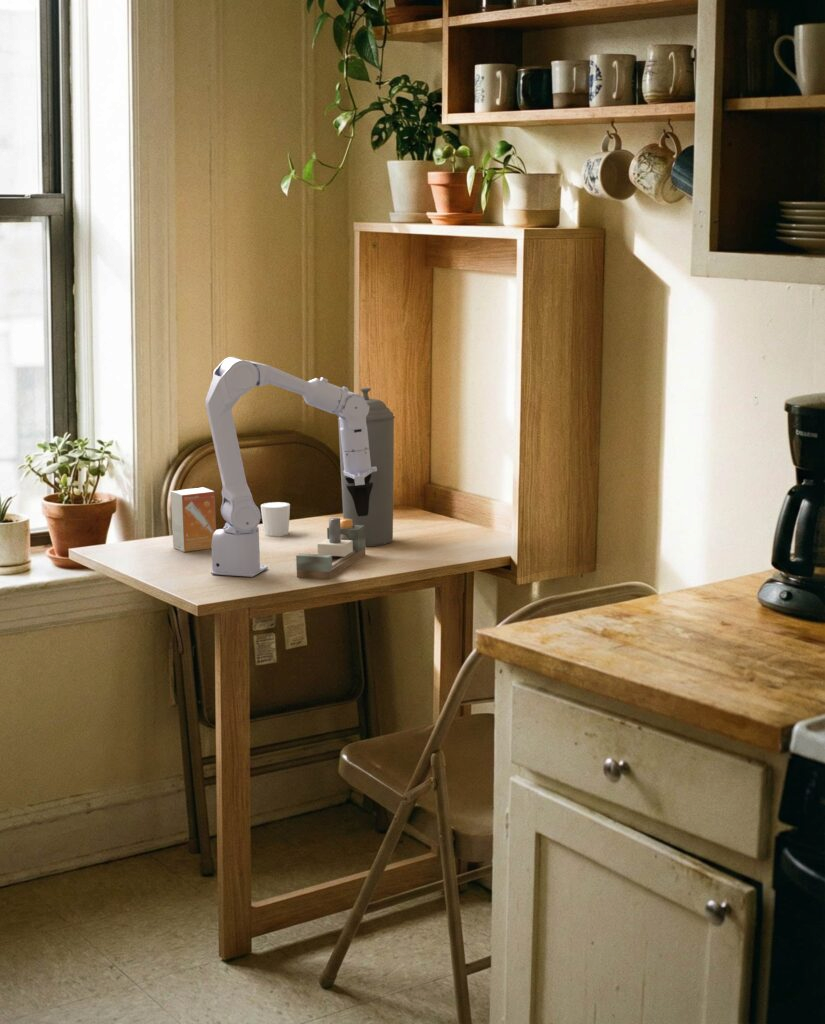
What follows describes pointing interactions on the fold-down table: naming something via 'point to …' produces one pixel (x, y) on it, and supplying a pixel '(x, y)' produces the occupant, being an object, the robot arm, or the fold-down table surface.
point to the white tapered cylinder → (275, 518)
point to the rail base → (332, 564)
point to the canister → (375, 475)
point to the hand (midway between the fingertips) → (362, 511)
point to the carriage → (335, 541)
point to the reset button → (346, 523)
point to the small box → (193, 518)
